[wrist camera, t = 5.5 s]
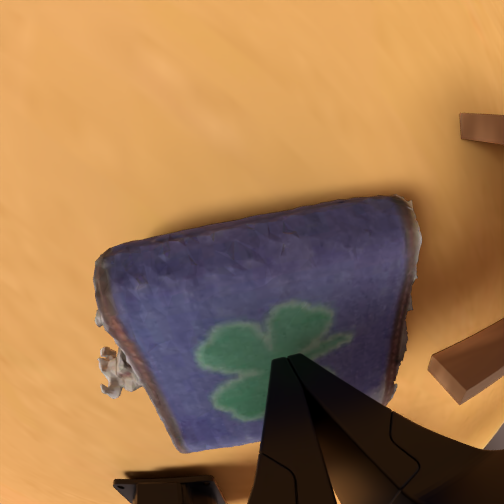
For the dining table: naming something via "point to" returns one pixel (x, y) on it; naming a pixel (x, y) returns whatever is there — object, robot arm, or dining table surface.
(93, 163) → the dining table surface
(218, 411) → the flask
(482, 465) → the robot arm
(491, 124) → the walnut u-shaped fence
